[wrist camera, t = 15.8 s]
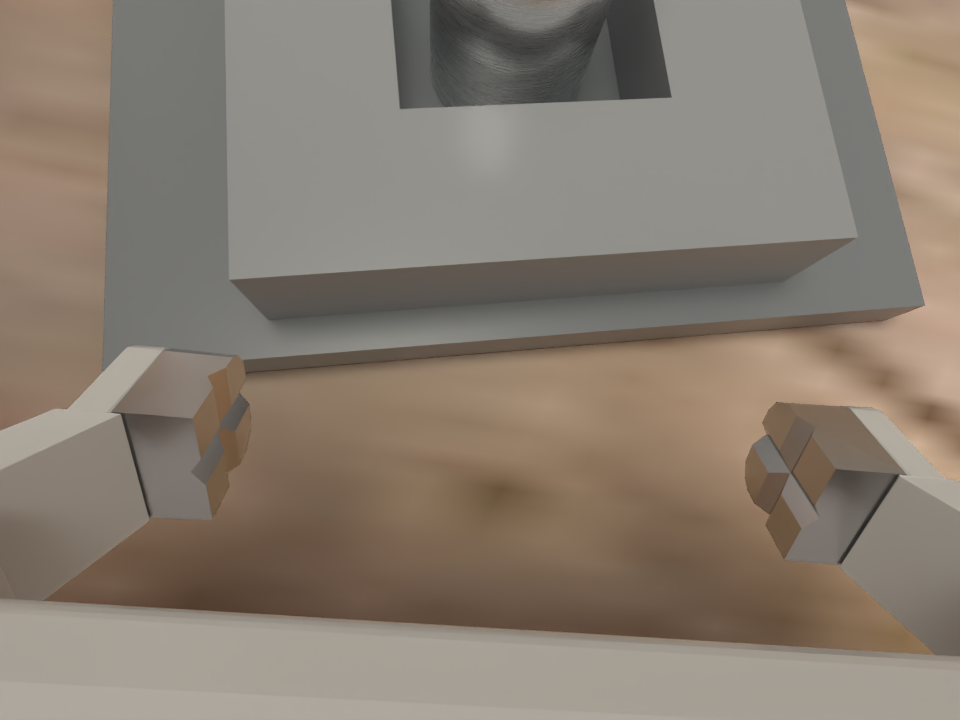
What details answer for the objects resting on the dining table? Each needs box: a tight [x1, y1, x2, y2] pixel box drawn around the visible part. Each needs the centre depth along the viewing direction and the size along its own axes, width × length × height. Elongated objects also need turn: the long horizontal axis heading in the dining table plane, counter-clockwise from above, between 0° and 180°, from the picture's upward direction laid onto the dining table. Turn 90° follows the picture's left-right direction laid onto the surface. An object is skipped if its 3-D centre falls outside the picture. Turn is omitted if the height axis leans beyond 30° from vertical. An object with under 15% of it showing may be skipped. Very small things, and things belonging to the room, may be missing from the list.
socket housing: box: [102, 0, 925, 372], centre depth 17 cm, size 22×16×4 cm
